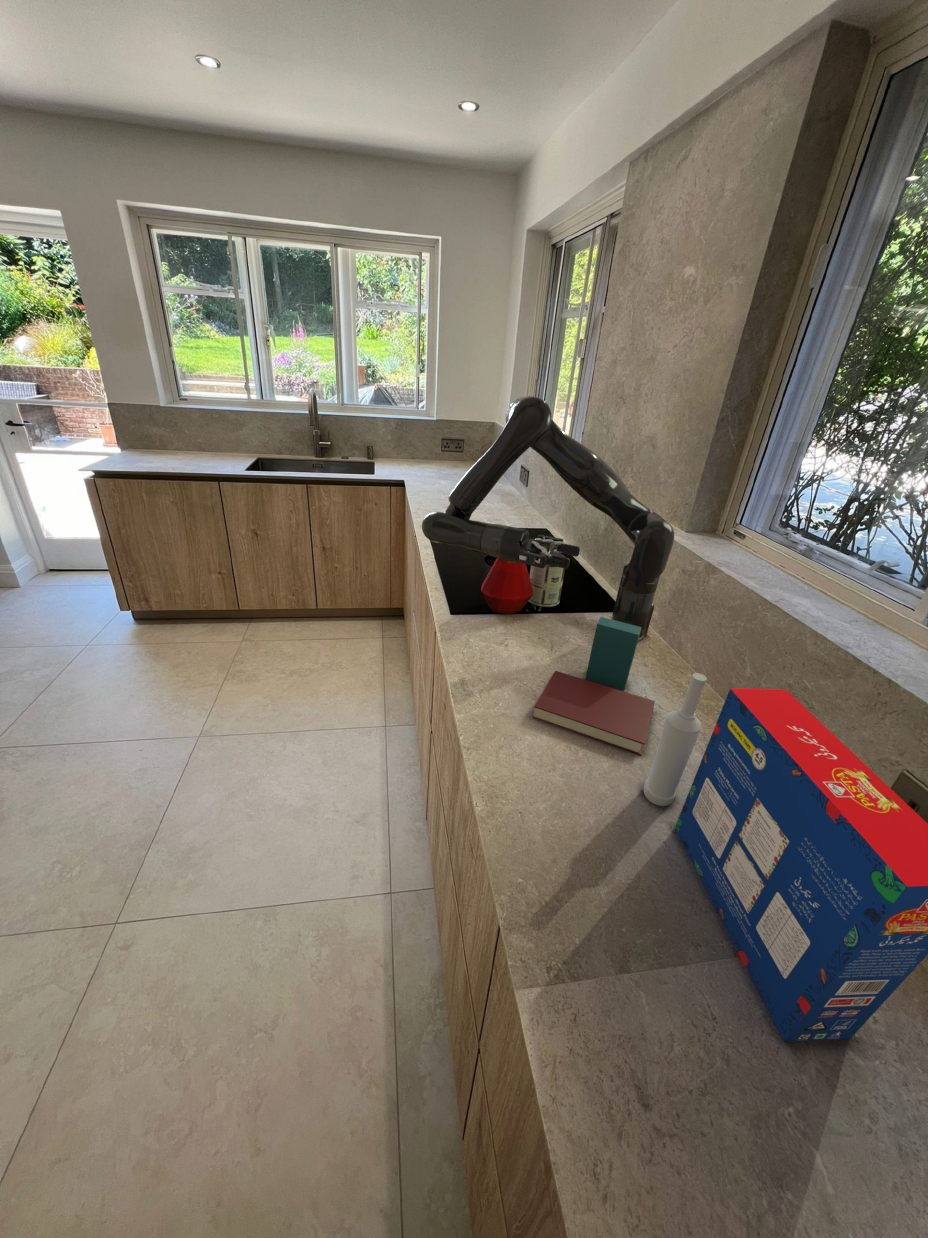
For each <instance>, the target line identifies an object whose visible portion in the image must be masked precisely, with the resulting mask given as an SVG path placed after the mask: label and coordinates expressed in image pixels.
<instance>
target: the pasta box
mask: <svg viewBox="0 0 928 1238" xmlns="http://www.w3.org/2000/svg"><path fill="white" fill-rule="evenodd" d="M710 735H711V736H710V738H709V741H708V743H707V746H706V747H705V751H704V753H703V755H702V758H701V761H700V763H699V766H698V768H697V771H696V773H695V776H694V778H693V781H692V784H691V786H690V788H689V791H688V793H687V795H686V798H685V801H684V804H683V806H682V808H681V811H680V813H679V816H678V818H677V821H676V824H675V827H674V831H675V833H676V835H677V837H678V839H679V841H680V843H681V845H682V847H683V848H684V851H685V852H686V855H687V856H688V858H689V860H690V863H691V864H692V866H693V868H694V870H695V872H696V875H697V876H698V878H699V880H700V883H701V884H702V886H703V887H704V890H705V891H706V893H707V896H708V897H709V899H710V902H711V903H712V905H713V908H714V909H715V911H716V913H717V915H718V917H719V919H720V922H721V923H722V925H723V927H724V929H725V931H726V932H727V934H728V937H729V938H730V940H731V943H732V945H733V946H734V948H735V950H736V952H737V954H738V956H739V958H740V960H741V962H742V963H743V965H744V968H745V970H746V972H747V974H748V975H749V977H750V979H751V981H752V984H753V985H754V987H755V989H756V991H757V993H758V995H759V997H760V999H761V1001H762V1003H763V1005H764V1007H765V1008H766V1011H767V1012H768V1014H769V1016H770V1018H771V1020H772V1022H773V1024H774V1026H775V1028H776V1031H777V1032H778V1034H779V1036H780V1038H781V1040H782V1042H783V1043H792V1042H795V1043H796V1042H814V1041H833V1040H834V1041H835V1040H851V1039H852V1038H853V1037H854V1035H855V1034H856V1033H858V1031H859V1030H860V1029H861V1028H862V1027H863V1026H864V1025H865V1023H866V1022H868V1021H869V1019H870V1018H871V1017H872V1016H873V1015H874V1014H875V1013H876V1012H877V1011H878V1010H879V1008H880V1007H881V1006H882V1005H883V1004H884V1003H885V1002H886V1001H887V1000H888V999H889V997H890V996H892V994H893V993H894V992H895V991H896V990H897V989H898V988H899V986H900V985H901V984H903V982H904V981H905V980H906V979H907V978H908V977H909V976H910V974H911V973H913V971H914V970H916V968H917V967H918V966H919V965H920V964H921V963H922V962H923V960H925V958H927V956H928V822H927V821H925V819H923V818H922V817H921V816H920V814H918V812H916V811H915V810H914V809H913V808H912V807H911V806H909V805H908V804H907V803H906V802H905V801H904V799H902V798H901V797H900V796H899V795H898V794H897V793H896V792H895V791H894V790H893V789H891V787H890V786H889V785H888V784H886V783H885V782H884V781H883V780H882V779H881V778H880V777H879V776H878V775H877V774H876V773H875V772H874V771H873V770H872V769H870V767H869V766H868V765H866V763H864V762H863V760H861V759H860V757H858V756H857V755H856V754H855V753H854V752H853V751H852V750H851V749H850V748H848V747H847V746H846V745H845V744H844V742H842V740H840V739H839V738H838V737H837V736H836V735H834V733H833V732H832V731H831V730H829V729H828V728H827V727H826V726H825V725H824V724H823V723H822V722H821V721H820V720H819V719H818V718H817V716H815V715H814V714H813V713H812V712H810V711H809V709H807V707H805V706H804V704H802V702H800V701H799V700H798V699H797V698H796V697H795V696H794V695H793V694H792V693H790V691H789V690H787V689H786V688H783V689H781V688H734V687H733V688H731V687H730V688H729V690H728V693H727V695H726V697H725V700H724V703H723V706H722V708H721V710H720V713H719V716H718V718H717V720H716V723H715V726H714V728H713V730H712V733H711V734H710Z"/></svg>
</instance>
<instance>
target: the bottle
mask: <svg viewBox="0 0 928 1238" xmlns="http://www.w3.org/2000/svg"><path fill="white" fill-rule="evenodd" d="M707 681H708V678H707V676H706V675H704V674H703V673H699V672H694V673H692V676H691V678H690V681H689V684H688V688H687V691H686V694H685V697H684V699H683V702H682V705H681V707H679V708H678V709H677V710H672V711H670V712H668V713H667V715H666V717H665V722H664V725H663V728H662V732H661V735H660V739H659V740H658V741H659V742H658V745H657V749H656V751H655V755H654V758H653V762H652V765H651V769H650V771H649V775H648V778H646V780H645V782H644V786H643V793H644V796H645V798H646V799H647V800H648V801H649V802H650V803H652V804H654V805H656V806H660V807H667V806H670V805H671V804H672V803H673V802H674V801H675V798H676V795H677V791H676V790H677V788H678V786H679V784H680V781H681V778H682V777H683V773H684V771H685V768H686V766H687V764H688V762H689V759H690V757H691V754H692V752H693V749H694V747H695V744H696V743H697V741H698V737H699V734H700V732H701V730H702V726H703V725H702V724H701V721H700V720H699V718H698V717H697V714H696V710H697V706H698V704H699V702H700V698H701V696H702V693H703V691H704V689H705V686H706V683H707Z"/></svg>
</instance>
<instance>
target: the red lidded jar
mask: <svg viewBox="0 0 928 1238" xmlns="http://www.w3.org/2000/svg"><path fill="white" fill-rule="evenodd" d="M480 591H481V594H482V596H483V598H484V600H485V602H486V604H487V606H488V609H490V610H491V611H492V612H494V613H496V614H500V615H513V614H517V613H519V612H521V611H522V609H523V608H524V607H525V606H526V605H527V604H528V603H529V599H530V598H531V597H532V596H533V588H532V584H531V581H530V573H529V570H528V567H527V564H523V563H518V562H513V561H509V560H505V559H501V558H496V559H495V561H494V562H493V564H492V566H491V568H490V570H489V572H488V573H487V575H486V576H485V578H484V580H483V582H482V584H481V588H480Z"/></svg>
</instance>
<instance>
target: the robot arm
mask: <svg viewBox="0 0 928 1238" xmlns="http://www.w3.org/2000/svg"><path fill="white" fill-rule="evenodd" d="M552 417H553V416H552V410H551V407H550V406H549V404H548V403H547V401H546V400H545V399H543V398H541V397H538V396H535V395H534V396H533V395H526V396H525V395H524V396H521V397H518V398H516V399H515V400H513V401H512V402H511V403H510V404H509V405H508V407H507V409H506V412H505V426H504V427H503V429H502V430H501V433H500V434H499V436H498V437H497V438H496V440H495V441H494V443H493V444H492V445H491V446H490V448H489V449H488V450H486V452H485V453H484V454H483V455H482V456H481V457H480V458H479V459H478V460H477V461H475V463H474V464H473V465H472V466H470V468H469V469H468V470H467V471H466V472H465V474H463V476H462V477H461V478H460V479H459V481H458V482H457V484H456V485H455V486H454V487H453V488H452V490H451V492H450V493H449V495H448V502H449V504H448V506H447V508H446V510H445V511H444V512H443V511H442V512H441V511H433V512H430V513H428V514H427V515H425V517H424V518H423V520H422V522H421V531H422V533H423V535H424V536H425V538H426V539H428V540H429V541H430V542H433V543H436V544H440V545H451V546H455V547H456V546H457V547H459V548H463V549H465V550H469V551H471V552H476V553H480V554H484V555H487V556H490V557H493V558H496V559H497V558H501V559H505V560H509V561H513V562H518V563H523V564H526V566H530V567H531V566H535V567H539V568H545V566H550V565H551V566H556V567H560V568H564V569H565V570H566V569H568V568H569V567H570V563H571V559H570V557H566V556H571V557H576V558H577V557H579V556H580V552H581V547H580V546H579V545H573V544H568V543H565V542H564V538H559V537H556V536H555V537H554V536H550V535H543V534H538V536H537V538H536V537H535V538H531V537H530V532H529V530H527V529H525V528H521V527H515V526H511V525H505V524H500V523H490V522H485V521H480V520H473V519H471V517H472V515H473V513H474V512H475V511H476V509H478V507H479V506H480V505H481V504H482V503H483V501H484V500H485V498H486V497H487V496H488V495H489V493H490V492H491V491H492V489H493V488H494V487H495V486H496V485H497V483H498V482H499V481H500V480H501V478H502V477H503V476H504V474H506V472H507V471H508V470H509V469H510V468H511V467H512V465H514V463H515V462H516V461H517V460H518V459H520V457H521V456H522V455H523V454H524V453H525V452H526V451H527V450H529V449H530V448H531V449H532V450H533V451H535V452H536V453H537V454H538V455H540V456H541V457H542V458H543V459H544V460H545V461H546V462H547V463H548V464H549V466H550V467H552V469H553V470H554V471H555V472H556V473H557V474H558V475H559V477H560V478H561V479H562V480H563V481H564V482H565V483H566V484H567V485H568V486H569V487H570V488H571V489H572V490H573V491H574V492H575V493H576V494H577V495H579V496H580V497H581V498H582V499H583V500H584V501H586V503H588V504H589V505H591V506H593V508H595V509H597V510H598V511H600V512H602V513H603V514H605V515H606V516H608V517H609V518H610V519H612V520H613V522H614V523H616V524H617V526H618V527H619V528H620V529H621V530H622V531H623V532H624V534H625V535H626V536H627V537H628V539H629V540H630V542H631V543H632V544H633V545H634V547H633V550H632V555H631V558H630V560H628V561H626V562H625V563H624V565H623V569H622V573H621V577H620V581H619V582H620V583H619V586H618V590H617V594H616V597H615V603H614V607H613V612H612V616H611V619H612V620H615V621H619V622H623V623H627V624H631V625H635V626H639V627H642V628H641V632H640V635H639V639H638V642H640V641H642V640H644V637H647V635H648V631H649V627H650V624H651V620H652V616H653V613H654V610H655V605H654V604H653V602H654V600H655V595H656V592H657V589H658V586H659V585H658V584H659V581H660V578H661V575H662V574H663V573H664V571H665V569H666V568H667V566H668V561H669V559H670V556H671V552H672V549H673V546H674V542H675V530H674V527H673V525H672V524H671V523H670V522H668V521H667V520H666V519H665V518H663V517H662V516H661V515H660V514H658V513H657V512H655V511H653V510H652V509H650V508H649V507H647V506H646V505H645V504H644V503H643V502H641V500H638V499H637V497H635V496H634V495H633V494H632V493H631V492H630V490H629V489H628V487H627V486H626V485H625V483H624V482H623V480H622V479H621V478H620V476H619V475H618V474H617V473H616V472H615V470H613V469H612V467H610V465H608V464H607V463H606V461H604V460H603V459H602V458H601V457H600V456H599V455H597V454H596V453H595V452H594V451H592V450H591V449H590V448H588V447H587V446H585V445H583V444H582V443H580V442H579V441H578V440H576V439H574V438H573V437H571V436H570V435H568V434H567V433H566V432H565V431H564V430H563V429H562V428H561V427H560V426H559V425H558V424H557V423H556V422H555V421H554V420H553V418H552ZM554 553H559V554H562V555H565V557H562V556H557V555H553V554H554ZM536 562H537V563H536Z"/></svg>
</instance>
